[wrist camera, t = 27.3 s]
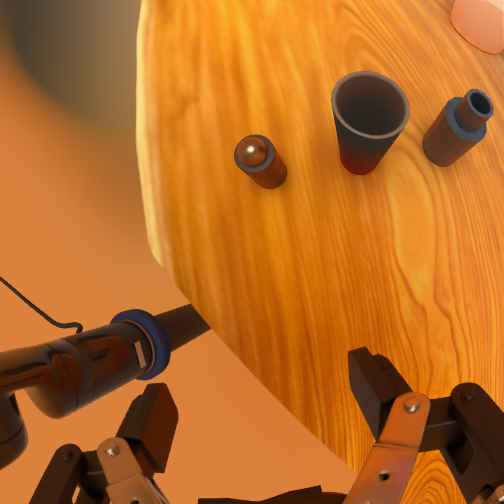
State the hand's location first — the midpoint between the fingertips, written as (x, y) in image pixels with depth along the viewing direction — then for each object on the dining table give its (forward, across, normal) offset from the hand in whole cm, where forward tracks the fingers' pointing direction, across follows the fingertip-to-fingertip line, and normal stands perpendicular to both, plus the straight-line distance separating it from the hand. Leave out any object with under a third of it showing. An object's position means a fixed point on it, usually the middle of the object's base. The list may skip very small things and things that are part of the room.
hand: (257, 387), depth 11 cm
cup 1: (+26, -16, -10) cm, 33 cm away
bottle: (+23, -28, -10) cm, 38 cm away
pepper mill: (+29, -5, -10) cm, 31 cm away
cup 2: (+24, -48, -32) cm, 63 cm away
